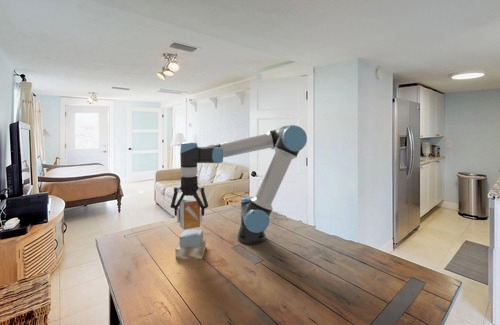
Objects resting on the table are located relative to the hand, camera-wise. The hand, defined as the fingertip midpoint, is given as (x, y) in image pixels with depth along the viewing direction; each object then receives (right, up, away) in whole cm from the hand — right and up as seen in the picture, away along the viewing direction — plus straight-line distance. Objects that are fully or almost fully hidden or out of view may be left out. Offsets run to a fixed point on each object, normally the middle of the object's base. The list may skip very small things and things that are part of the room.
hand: (189, 222), depth 121 cm
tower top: (+1, -11, +2) cm, 11 cm away
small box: (0, -2, 0) cm, 2 cm away
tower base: (0, -16, +2) cm, 16 cm away
